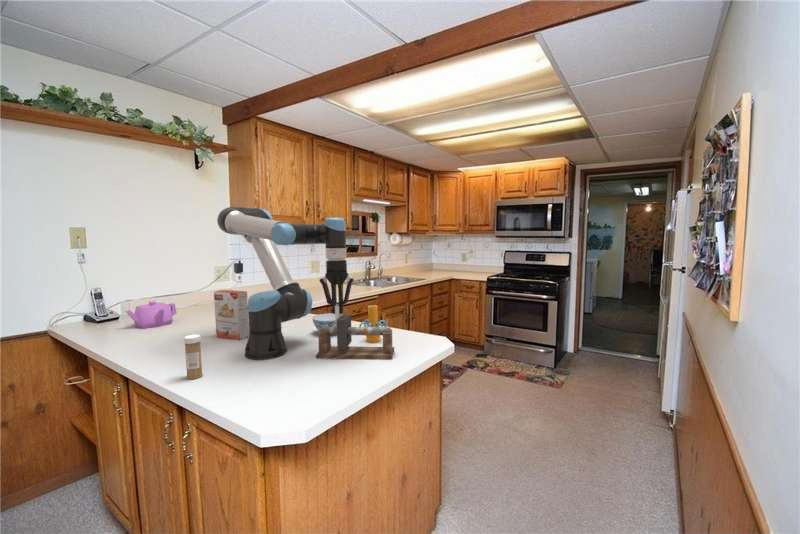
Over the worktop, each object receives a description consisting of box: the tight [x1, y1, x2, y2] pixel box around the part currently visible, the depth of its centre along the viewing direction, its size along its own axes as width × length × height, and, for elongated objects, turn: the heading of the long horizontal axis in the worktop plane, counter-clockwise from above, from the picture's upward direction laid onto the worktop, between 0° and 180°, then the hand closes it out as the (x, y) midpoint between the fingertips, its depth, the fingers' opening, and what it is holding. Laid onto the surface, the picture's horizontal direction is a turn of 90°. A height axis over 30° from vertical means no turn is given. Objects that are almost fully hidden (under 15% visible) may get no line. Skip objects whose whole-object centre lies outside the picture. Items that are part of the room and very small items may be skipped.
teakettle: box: [125, 300, 177, 330], centre depth 185 cm, size 17×17×12 cm
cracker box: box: [213, 289, 249, 341], centre depth 161 cm, size 14×6×21 cm, turn 68°
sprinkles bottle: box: [183, 334, 203, 380], centre depth 115 cm, size 5×5×14 cm
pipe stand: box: [315, 326, 395, 360], centre depth 136 cm, size 28×10×11 cm, turn 86°
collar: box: [336, 313, 353, 350], centre depth 136 cm, size 3×11×11 cm, turn 176°
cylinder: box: [358, 304, 388, 343], centre depth 154 cm, size 12×10×15 cm
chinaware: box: [312, 312, 343, 332], centre depth 166 cm, size 15×15×8 cm
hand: (338, 322), depth 136 cm, fingers closed
